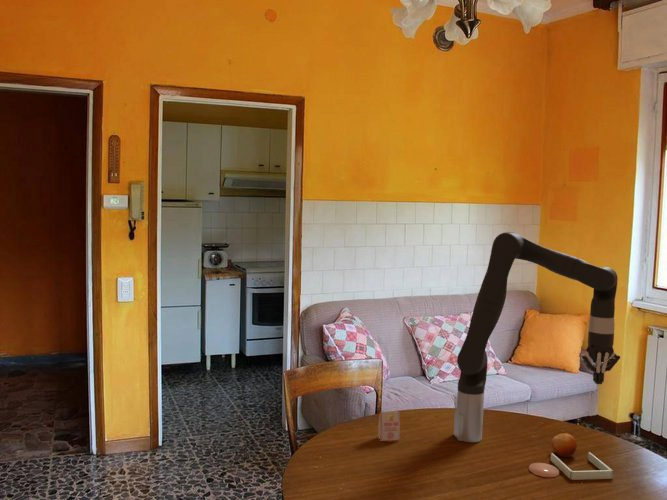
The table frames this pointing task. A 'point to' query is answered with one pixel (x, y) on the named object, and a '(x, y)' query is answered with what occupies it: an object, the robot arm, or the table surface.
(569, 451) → the fruit
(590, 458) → the pale gray u-shaped frame
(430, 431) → the table surface
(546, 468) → the pink shiny oval part
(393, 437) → the tea bag
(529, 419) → the table surface
